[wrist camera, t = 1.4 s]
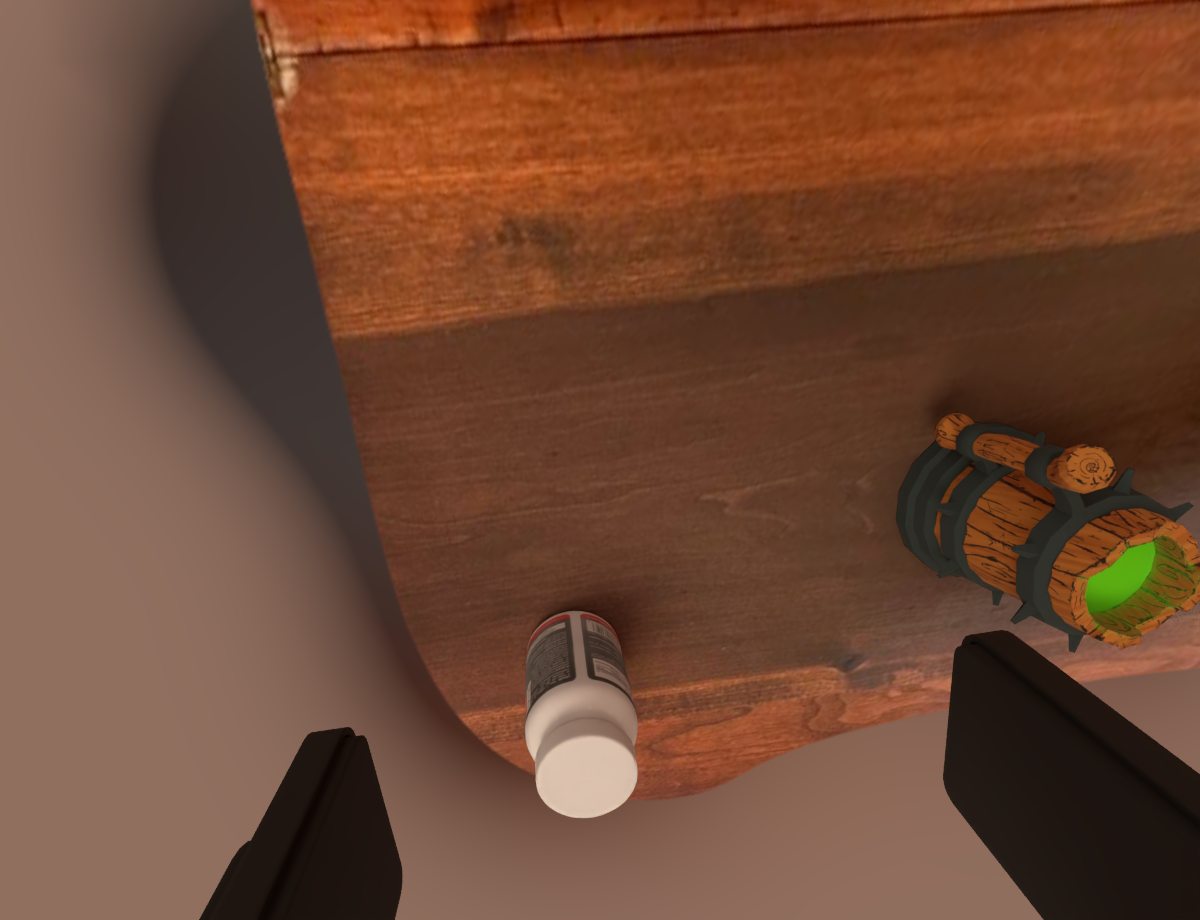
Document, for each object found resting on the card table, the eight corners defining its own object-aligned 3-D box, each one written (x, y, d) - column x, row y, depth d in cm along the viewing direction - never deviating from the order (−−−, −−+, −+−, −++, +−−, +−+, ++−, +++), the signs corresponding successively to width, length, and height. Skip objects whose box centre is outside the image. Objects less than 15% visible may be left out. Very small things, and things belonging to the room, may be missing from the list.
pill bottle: (530, 691, 37) (527, 835, 27) (522, 612, 35) (515, 735, 25) (621, 681, 37) (650, 819, 28) (618, 602, 35) (646, 719, 26)
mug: (1075, 509, 37) (1305, 607, 26) (936, 603, 38) (1099, 736, 27) (990, 342, 33) (1217, 373, 22) (837, 452, 34) (980, 535, 23)
